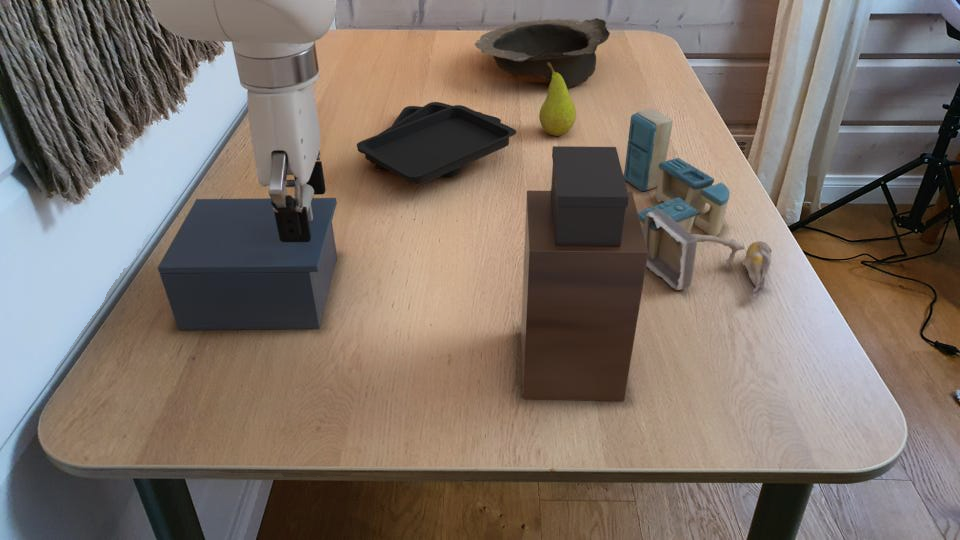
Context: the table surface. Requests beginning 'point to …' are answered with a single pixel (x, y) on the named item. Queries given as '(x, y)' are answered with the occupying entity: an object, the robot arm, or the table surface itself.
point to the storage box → (251, 297)
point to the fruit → (557, 107)
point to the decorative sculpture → (681, 249)
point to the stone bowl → (547, 48)
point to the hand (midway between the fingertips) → (304, 215)
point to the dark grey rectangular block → (588, 196)
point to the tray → (435, 141)
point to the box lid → (246, 238)
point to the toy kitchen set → (670, 179)
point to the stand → (578, 308)
